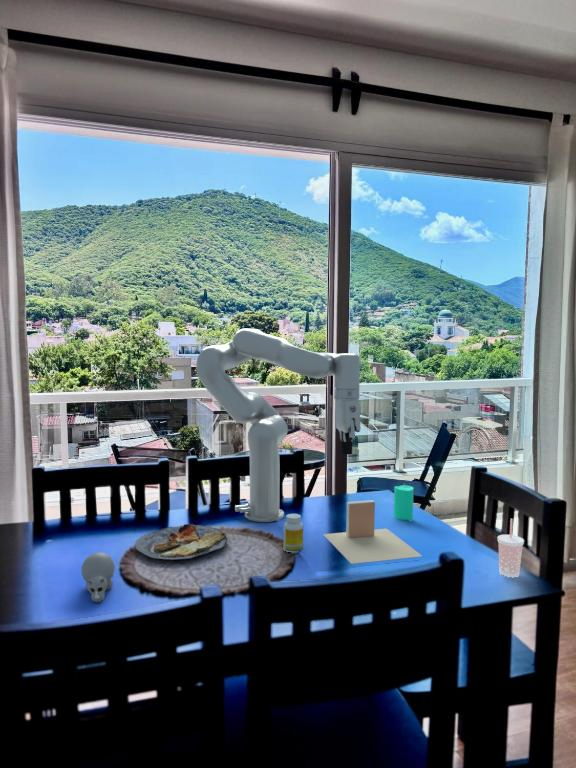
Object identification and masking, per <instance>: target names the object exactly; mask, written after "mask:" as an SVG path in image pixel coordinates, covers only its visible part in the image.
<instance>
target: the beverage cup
mask: <svg viewBox="0 0 576 768" xmlns="http://www.w3.org/2000/svg"><path fill="white" fill-rule="evenodd" d="M509 523H510V524H509V534H501V535H498V536H497V542H498V569H499V571H498V572H500V573H499V575H501V574H502V575H504V576H503V577H505V576H507V577H506V578H509V577H512V578H511V579H515V578H514V577H517V578H519V577H520V572H521V571H520V570H521V562H522V554H523V553H522V552H523V545H524V544H525V539H524V538H523V537H521V536H518V535H513V518H510V521H509ZM502 575H501V576H502Z"/></svg>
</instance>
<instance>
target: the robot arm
mask: <svg viewBox="0 0 576 768" xmlns="http://www.w3.org/2000/svg"><path fill="white" fill-rule="evenodd" d="M252 359H255V360H259V361H262V362H265V363H268V364H272V365H275V366H277V367H279V368H282V369H285V370H287V371H290V372H292V373H295V374H299V375H301V376H305V377H309V378H311V379H312V378H313V379H323V378H326V377H331V376H334V381H333V382H334V384H333V385H334V388H333V389H334V393H333V394H334V397H333V398H334V400H335V411H334V424H335V425H334V426H335V429H337V431H338V432H339V439H340V454H341V455H343V456H345V455H353V441H354V438H355V437H356V433H360V431H361V409H360V408H361V407H360V401H359V400H360V366H361V365H360V362H361V361H360V360H361V359H360V356H359V355H358V354H357V353H352V352H350V353H347V352H346V353H344V352H343V353H332V352H326V351H325V352H324V351H323V352H315V351H311V350H307V349H304V348H301V347H299V346H298V347H297V346H295V345H293V344H291V343H290V342H289V341H288V340H286V339H285V338H282V337H278V336H274V335H272V334H269V333H268V334H267V333H264V331H262V330H260V329H257V328H241V329H239V330H238V331H236V333H235V334H234V336H233V338H232V340H230V341H229V342H227V343H225V344H214V345H210V346H207V347H204V348H203V349H202V350H201V351H200V352H199V354H198V356H197V360H196V366H195V367H196V373H197V377H198V379H199V380H200V382H201V384H202V386H204V388H205V389H206V390H207V391H208V392H209V394H210V395H212V397H213V398H214V399H215V400H216V401H217V403H218V404H219V405H220V406H221V407H222V409H224V410H225V412H226V413H227V414H228V415H229V416H230V417H231V418H232V419H233V421H235V422H236V423H238V424H247V423H250V424H251V425H250V427H249V429H248V432H247V444H248V445H247V446H248V453H249V500H248V501H247V503H244V504H242V505H241V504H239V505H238V504H237V505H236V504H235V505H234V510H235V512H239V513H240V514H241V513H244V517H245V518H246V519H247V520H249V521H251V522H252V521H253V522H256V523H257V522H258V523H259V522H260V523H271V522H277V521H279V520H282V519H283V518H284V517H285V512H284V510H283V509H280V476H281V475H280V473H281V471H280V453H279V444H280V443H282V442H283V441H284V440H285V439H286V437H287V435H288V432H289V430H288V425H287V423H286V421H285V419H284V418H283V416H282V415H281V414H280V413H279V412H278V411H277V410H276V409H275V408H274V407H273V405H271V404H270V403H269V401H268V400H267V399H266V398H265V397H264V396H263V395H262V394H260V393H258V392H254V391H248V392H246V391H245V390H244V389H243V388H241V386H240V385H239V384H238V383H237V381H235V379H234V378H232V377H231V376H230V375H229V374H227V373H226V372H225V371H228V370H232V369H233V368H236V367H238V366H241V365H242V364H243V363H246V362H247V361H249V360H252Z"/></svg>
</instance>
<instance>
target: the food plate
mask: <svg viewBox="0 0 576 768" xmlns="http://www.w3.org/2000/svg"><path fill="white" fill-rule="evenodd" d="M161 542H162V543H161ZM227 542H228V537H227V533H225V532H223V531H221V530H219V529H218V528H216V527H212V526H206V525H199V524H196V525H195V524H193V523H191V524H188V523H187V524H186V523H185V524H183V525H179V526H169V527H165V528H161V529H157V530H154V531H152V532H149V533H145V534H143V535H141V536H139V537H138V538H137V540H136V541H135V543H134V547H135V549H136V550H137V551H138V552H140V553H141V554H143V555H145V556H147V557H150V558H153V559H158V560H160V559H162V560H168V561H173V560H186V559H193V558H194V557H198V556H202V555H206V554H209V553H210V552H211V553H212V552H214V551H217V550H219V549H220V550H221V549H222V548H224V547H226V545H227ZM152 548H153V552H152ZM158 554H159V555H158Z"/></svg>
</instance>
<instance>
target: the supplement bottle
mask: <svg viewBox="0 0 576 768" xmlns="http://www.w3.org/2000/svg"><path fill="white" fill-rule="evenodd" d="M285 519H286V520H285V523H283V541H282V544H283V545H282V549H283V551H284V552H285V551H286V553H288V552H292V553H291V554H299V553H301V549H303V547H304V525H303V522H301V521H302V516H301V514H298V513H289V514H287V515H285Z"/></svg>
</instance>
